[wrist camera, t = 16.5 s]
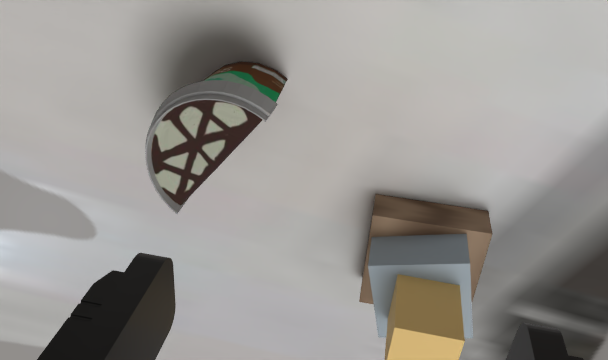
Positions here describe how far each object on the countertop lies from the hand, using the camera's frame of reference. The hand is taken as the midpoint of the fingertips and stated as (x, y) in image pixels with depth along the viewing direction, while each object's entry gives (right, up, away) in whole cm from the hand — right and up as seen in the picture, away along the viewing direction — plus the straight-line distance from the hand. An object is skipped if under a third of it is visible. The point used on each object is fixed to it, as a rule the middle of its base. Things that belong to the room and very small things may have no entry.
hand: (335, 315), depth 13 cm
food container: (-7, +11, +35) cm, 38 cm away
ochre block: (+9, -7, +33) cm, 35 cm away
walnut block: (+10, -3, +40) cm, 42 cm away
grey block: (+10, -5, +37) cm, 39 cm away
